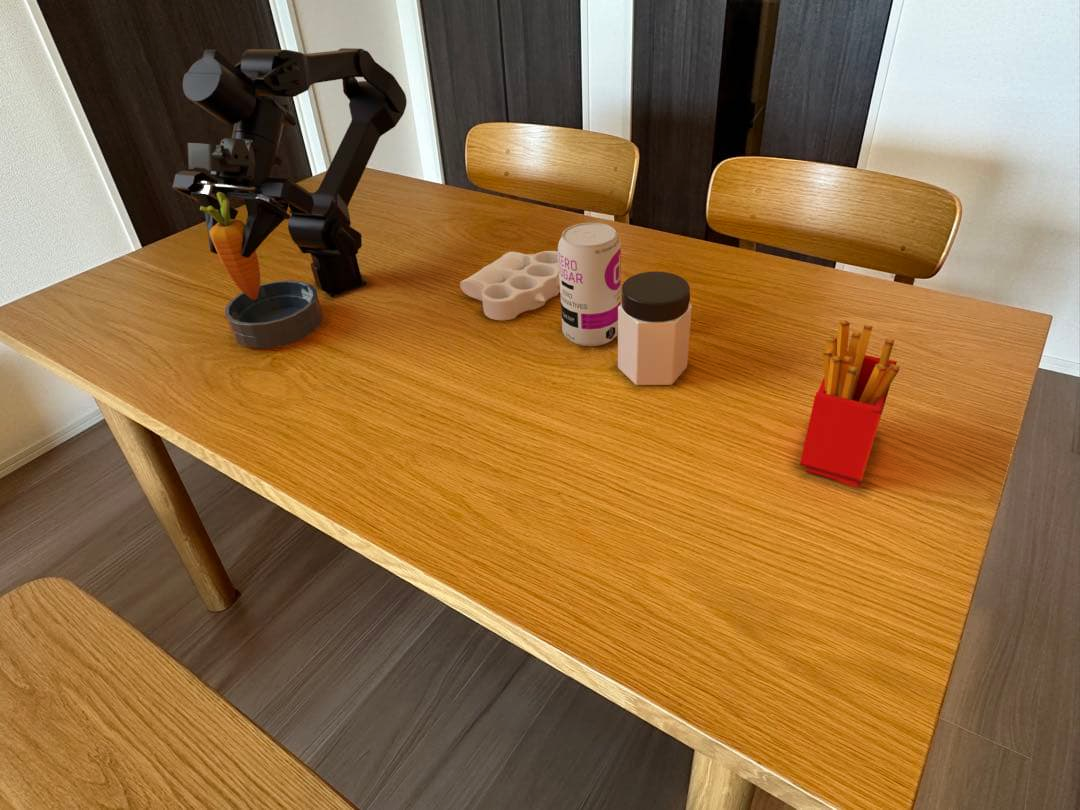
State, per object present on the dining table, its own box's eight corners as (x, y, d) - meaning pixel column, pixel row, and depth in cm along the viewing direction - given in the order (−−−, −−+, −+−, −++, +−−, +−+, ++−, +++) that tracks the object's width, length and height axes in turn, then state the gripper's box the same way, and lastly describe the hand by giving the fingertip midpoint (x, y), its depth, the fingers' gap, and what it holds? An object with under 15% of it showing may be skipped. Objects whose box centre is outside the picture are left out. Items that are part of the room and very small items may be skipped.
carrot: (252, 311, 95) (211, 207, 85) (229, 303, 97) (186, 200, 87) (280, 295, 98) (243, 192, 88) (257, 287, 100) (219, 186, 91)
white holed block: (518, 258, 118) (590, 278, 111) (447, 304, 108) (521, 330, 100) (517, 240, 116) (590, 259, 109) (444, 284, 105) (519, 309, 98)
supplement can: (628, 323, 100) (629, 224, 91) (608, 353, 94) (607, 251, 85) (576, 313, 103) (572, 217, 94) (553, 342, 97) (547, 243, 88)
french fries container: (792, 469, 74) (815, 361, 66) (812, 420, 80) (835, 316, 72) (862, 490, 71) (896, 379, 63) (877, 437, 77) (910, 330, 69)
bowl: (303, 297, 113) (296, 271, 110) (338, 327, 104) (331, 301, 101) (223, 326, 107) (212, 301, 104) (252, 362, 98) (242, 335, 95)
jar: (698, 375, 89) (706, 292, 81) (644, 395, 86) (647, 311, 79) (659, 343, 95) (663, 263, 88) (608, 360, 93) (607, 280, 85)
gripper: (152, 108, 88) (123, 226, 87) (271, 113, 82) (242, 240, 81) (217, 149, 98) (192, 255, 97) (327, 156, 93) (301, 269, 92)
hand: (229, 254), depth 92 cm, fingers closed on carrot, 5 cm apart
